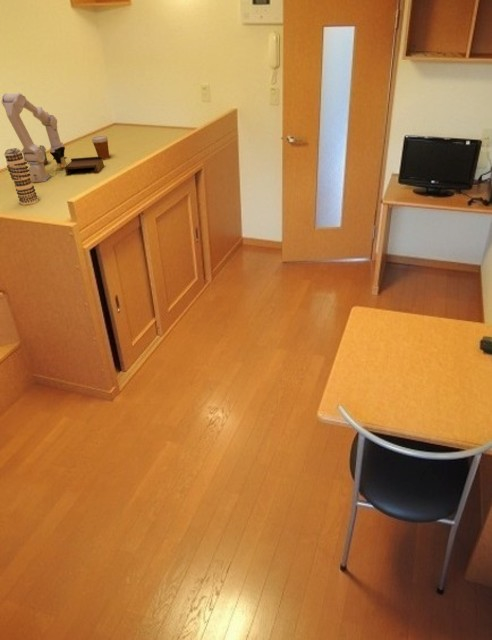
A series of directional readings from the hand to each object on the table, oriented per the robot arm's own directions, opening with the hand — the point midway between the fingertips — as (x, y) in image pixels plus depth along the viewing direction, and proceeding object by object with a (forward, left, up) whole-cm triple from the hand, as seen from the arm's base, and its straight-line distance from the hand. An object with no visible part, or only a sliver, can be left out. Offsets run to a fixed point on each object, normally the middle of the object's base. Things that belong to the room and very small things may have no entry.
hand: (60, 161), depth 281 cm
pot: (0, 0, -2) cm, 2 cm away
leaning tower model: (-54, -2, -4) cm, 54 cm away
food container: (+12, +16, -4) cm, 20 cm away
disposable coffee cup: (+17, -20, -4) cm, 27 cm away
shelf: (-7, -16, -4) cm, 18 cm away
